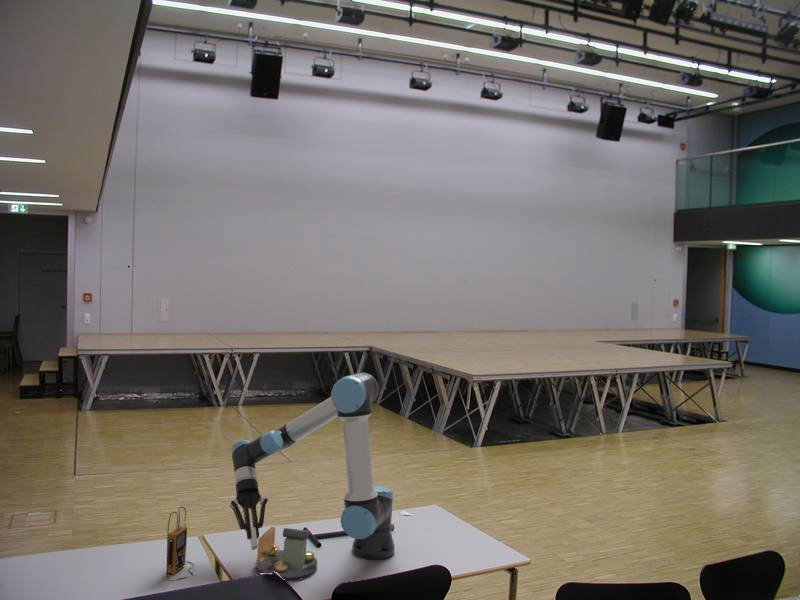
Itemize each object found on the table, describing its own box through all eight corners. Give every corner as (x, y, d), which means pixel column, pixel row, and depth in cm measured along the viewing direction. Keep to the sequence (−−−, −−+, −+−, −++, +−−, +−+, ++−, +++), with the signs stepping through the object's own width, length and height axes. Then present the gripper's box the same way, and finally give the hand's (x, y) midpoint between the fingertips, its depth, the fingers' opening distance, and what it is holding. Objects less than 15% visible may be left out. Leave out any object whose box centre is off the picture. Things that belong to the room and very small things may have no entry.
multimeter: (189, 583, 217) (192, 519, 216) (159, 578, 219) (162, 515, 218) (211, 565, 231) (214, 505, 231) (183, 561, 233) (186, 501, 233)
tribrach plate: (322, 559, 242) (323, 547, 242) (308, 583, 222) (309, 571, 222) (266, 553, 244) (266, 541, 244) (247, 576, 224) (248, 564, 224)
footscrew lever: (268, 551, 239) (269, 523, 239) (280, 552, 239) (282, 525, 238) (252, 568, 225) (253, 538, 225) (265, 569, 224) (266, 540, 224)
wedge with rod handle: (308, 562, 233) (310, 527, 233) (303, 569, 227) (305, 533, 227) (284, 560, 234) (286, 525, 234) (279, 567, 228) (281, 531, 228)
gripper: (262, 486, 250) (271, 550, 236) (225, 489, 245) (232, 554, 230) (267, 476, 245) (276, 540, 231) (229, 478, 240) (236, 544, 225)
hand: (254, 547), depth 230 cm, fingers closed
